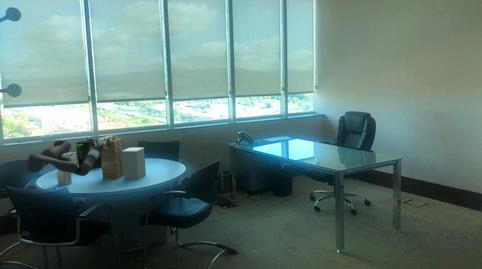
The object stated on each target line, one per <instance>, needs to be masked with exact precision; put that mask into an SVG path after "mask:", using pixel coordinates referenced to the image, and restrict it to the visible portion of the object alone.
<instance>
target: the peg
mask: <svg viewBox="0 0 482 269" xmlns="http://www.w3.org/2000/svg"><path fill="white" fill-rule="evenodd" d="M107 139H109V140H110V141H112V140H116V139H118V135H117V134H109V135H107V136H103V137H100V138H96V140H97V142H98V144H102V143H105V142H106V141H107Z"/></svg>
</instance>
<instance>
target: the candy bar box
mask: <svg viewBox="0 0 482 269" xmlns="http://www.w3.org/2000/svg"><path fill="white" fill-rule="evenodd" d="M63 155H65V156H68V157H69V158H70V162H73V163H76V164H77V166H78V157H77V151H72V152H70V151H69V152H67V153H65V154H63ZM78 167H79V166H78Z"/></svg>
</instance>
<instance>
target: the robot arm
mask: <svg viewBox="0 0 482 269" xmlns="http://www.w3.org/2000/svg"><path fill="white" fill-rule="evenodd" d="M95 140H96V141H95V142H92V143H91V144H90V146H89V148H90V151H89V153H88V155H87V157H86V158H85V160H84V162H83V163H82V165H81V166H80V167H79V166H77V164H76V163H73V162H70V158H69V157H68V156H65V155H63V154H65V153H70V150H71V149H72V144H71V142H70V141H68V140H66V139H65V140H63V139H61V140H55V141H54V143H53V146H50V147H48V148H46V149H44V150H43V151H42V152H41V153H40V154H38V153H31V154H29V155H28V158H27V161H26V163H25V169H26V171H27V172H29V173H35V174H36V173H39V172H40V171H42V170H43V169H44V168H45V167H46V166H47V165H49V164H50V165H51V166H53V167H55V168H56V169H57V171H56V178H57V186H66V185H69V184H72V183H73V179H72V174H74V175H77V176H80V177H84V176H87V175H88V174H89V172H90V171H91V170H92V169H93V168H92V166H93V164H94V163H95V161H96V160H97V159H98V157H99V156H100V154H101V152H102V150H103V149H106V150H107V149H108V147H109V146H110V143H109V142H110V140H109V139H107V141H106V142H105V143H102V144H98V142H97V139H95ZM103 144H104V146H103ZM94 145H95V146H94Z"/></svg>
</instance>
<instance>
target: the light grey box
mask: <svg viewBox="0 0 482 269" xmlns="http://www.w3.org/2000/svg"><path fill="white" fill-rule="evenodd" d="M145 156H146V155H145V147H128V148H126V149H123V151H122V159H123V172H124V176H123V179H124V180H140V179H142V178H143V177H145V176H147V171H146V170H147V169H146V158H145Z"/></svg>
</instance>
